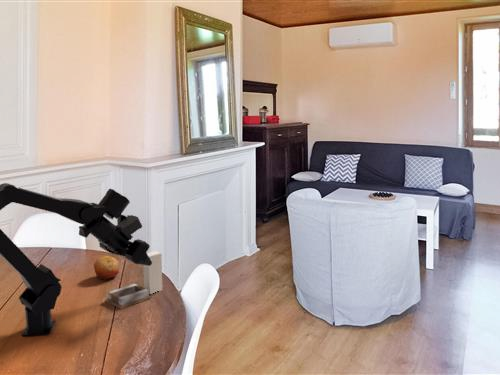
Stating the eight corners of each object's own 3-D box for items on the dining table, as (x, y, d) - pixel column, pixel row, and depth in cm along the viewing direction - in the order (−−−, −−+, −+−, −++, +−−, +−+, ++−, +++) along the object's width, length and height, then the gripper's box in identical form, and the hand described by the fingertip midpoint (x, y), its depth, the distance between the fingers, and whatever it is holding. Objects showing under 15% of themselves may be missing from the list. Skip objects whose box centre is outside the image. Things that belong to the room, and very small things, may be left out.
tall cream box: (149, 294, 132) (148, 256, 130) (144, 291, 134) (143, 254, 132) (162, 290, 135) (161, 253, 133) (156, 287, 137) (155, 251, 135)
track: (120, 309, 122) (120, 300, 122) (106, 300, 128) (105, 291, 127) (151, 298, 129) (150, 290, 129) (136, 290, 135) (135, 282, 134)
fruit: (107, 265, 152) (113, 249, 148) (119, 281, 148) (125, 265, 145) (85, 272, 146) (91, 255, 142) (97, 289, 142) (104, 272, 138)
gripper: (142, 214, 117) (176, 244, 127) (106, 203, 130) (140, 232, 140) (117, 248, 113) (154, 277, 123) (83, 234, 125) (119, 261, 135)
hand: (142, 260), depth 130 cm, fingers open, 9 cm apart
